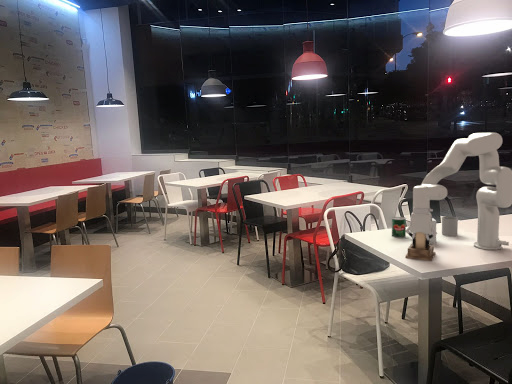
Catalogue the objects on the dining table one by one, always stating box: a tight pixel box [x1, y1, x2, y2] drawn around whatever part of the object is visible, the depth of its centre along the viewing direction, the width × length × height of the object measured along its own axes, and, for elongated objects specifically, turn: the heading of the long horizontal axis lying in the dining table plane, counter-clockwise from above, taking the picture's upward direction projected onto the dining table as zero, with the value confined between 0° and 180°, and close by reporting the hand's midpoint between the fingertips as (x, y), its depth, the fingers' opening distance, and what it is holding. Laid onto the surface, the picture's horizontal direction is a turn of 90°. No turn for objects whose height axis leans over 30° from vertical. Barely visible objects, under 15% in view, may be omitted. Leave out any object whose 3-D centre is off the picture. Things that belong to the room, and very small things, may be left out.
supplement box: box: [429, 217, 437, 244], centre depth 220 cm, size 7×7×13 cm
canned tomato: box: [391, 216, 407, 239], centre depth 234 cm, size 8×8×11 cm
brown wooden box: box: [405, 243, 436, 262], centre depth 196 cm, size 12×12×4 cm
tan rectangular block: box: [415, 232, 426, 250], centre depth 195 cm, size 5×5×10 cm
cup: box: [441, 216, 459, 237], centre depth 233 cm, size 8×8×10 cm
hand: (420, 246), depth 196 cm, fingers closed on tan rectangular block, 4 cm apart
